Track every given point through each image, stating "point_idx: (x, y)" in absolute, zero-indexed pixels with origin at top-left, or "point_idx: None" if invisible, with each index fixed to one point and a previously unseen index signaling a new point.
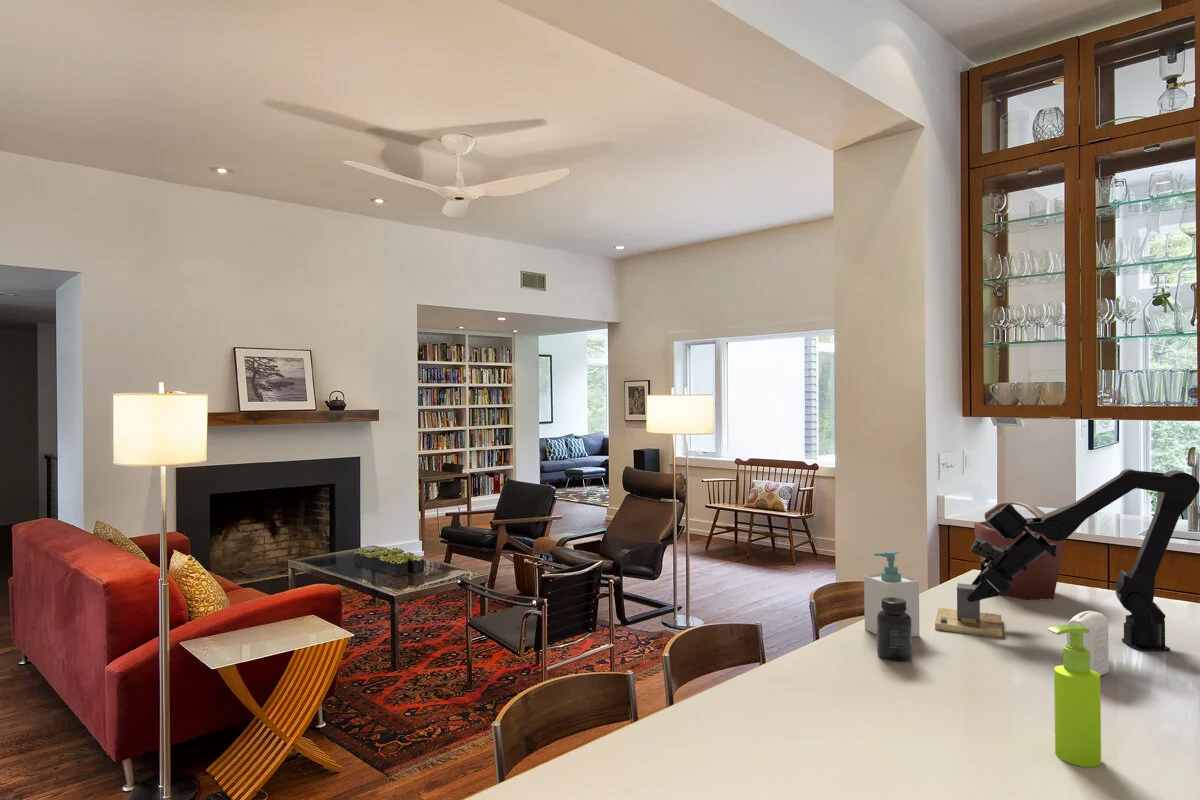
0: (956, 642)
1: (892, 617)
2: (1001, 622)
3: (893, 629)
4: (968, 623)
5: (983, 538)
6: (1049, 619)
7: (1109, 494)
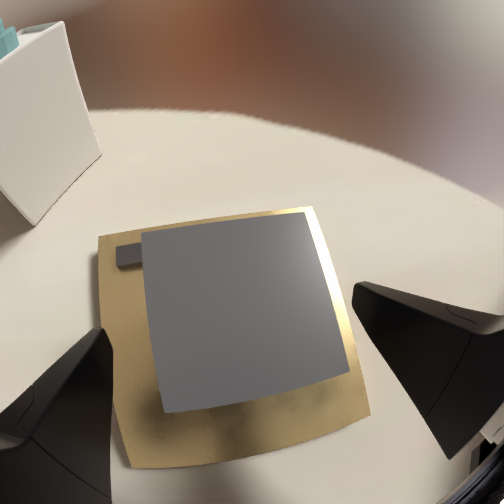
0: (20, 325)
1: None
2: (260, 453)
3: None
4: None
5: None
6: (436, 478)
7: None
